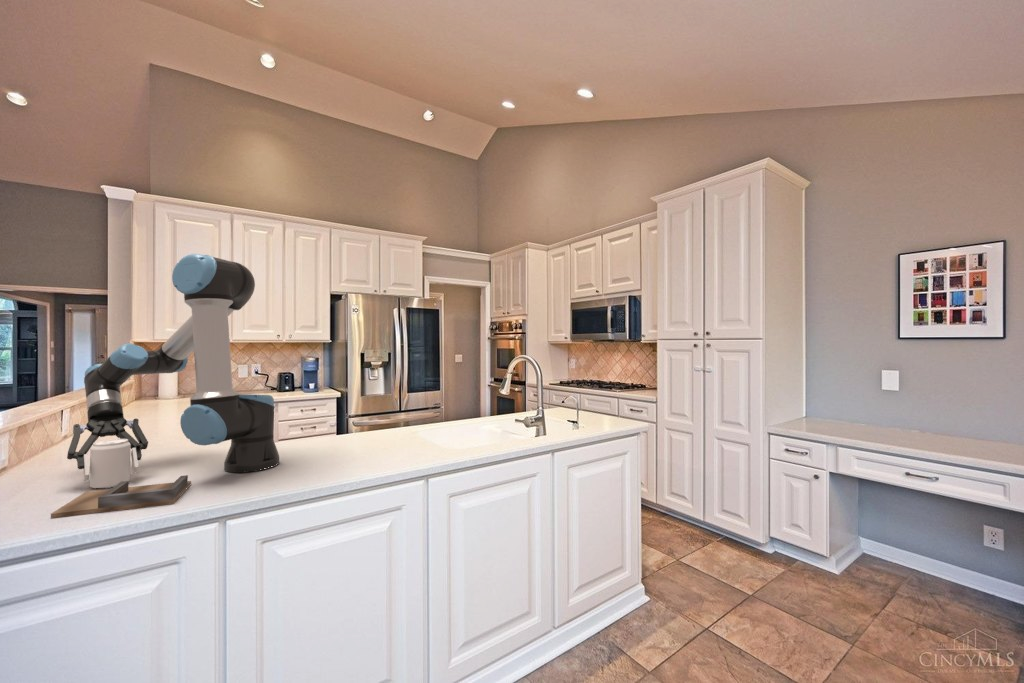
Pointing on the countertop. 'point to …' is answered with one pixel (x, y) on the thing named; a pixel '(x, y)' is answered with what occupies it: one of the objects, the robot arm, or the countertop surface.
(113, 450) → the beverage can
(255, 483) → the countertop surface
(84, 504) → the keeper
